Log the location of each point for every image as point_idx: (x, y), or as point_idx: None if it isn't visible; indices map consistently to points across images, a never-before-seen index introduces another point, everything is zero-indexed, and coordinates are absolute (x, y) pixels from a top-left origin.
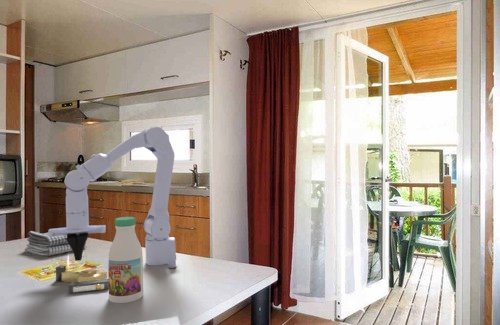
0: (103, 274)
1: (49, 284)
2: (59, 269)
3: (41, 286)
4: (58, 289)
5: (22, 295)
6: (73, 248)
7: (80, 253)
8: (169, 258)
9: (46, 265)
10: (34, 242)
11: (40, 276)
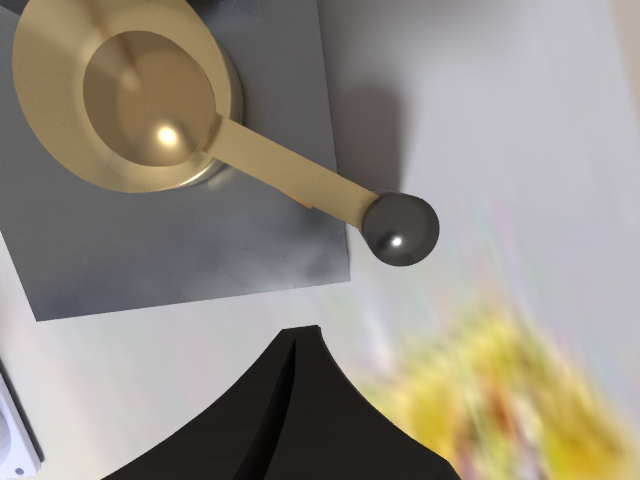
0: (27, 67)
1: (442, 238)
2: (399, 194)
3: (475, 213)
4: (367, 143)
5: (536, 81)
6: (328, 383)
7: (263, 357)
8: None
9: None
10: None
11: (526, 372)
